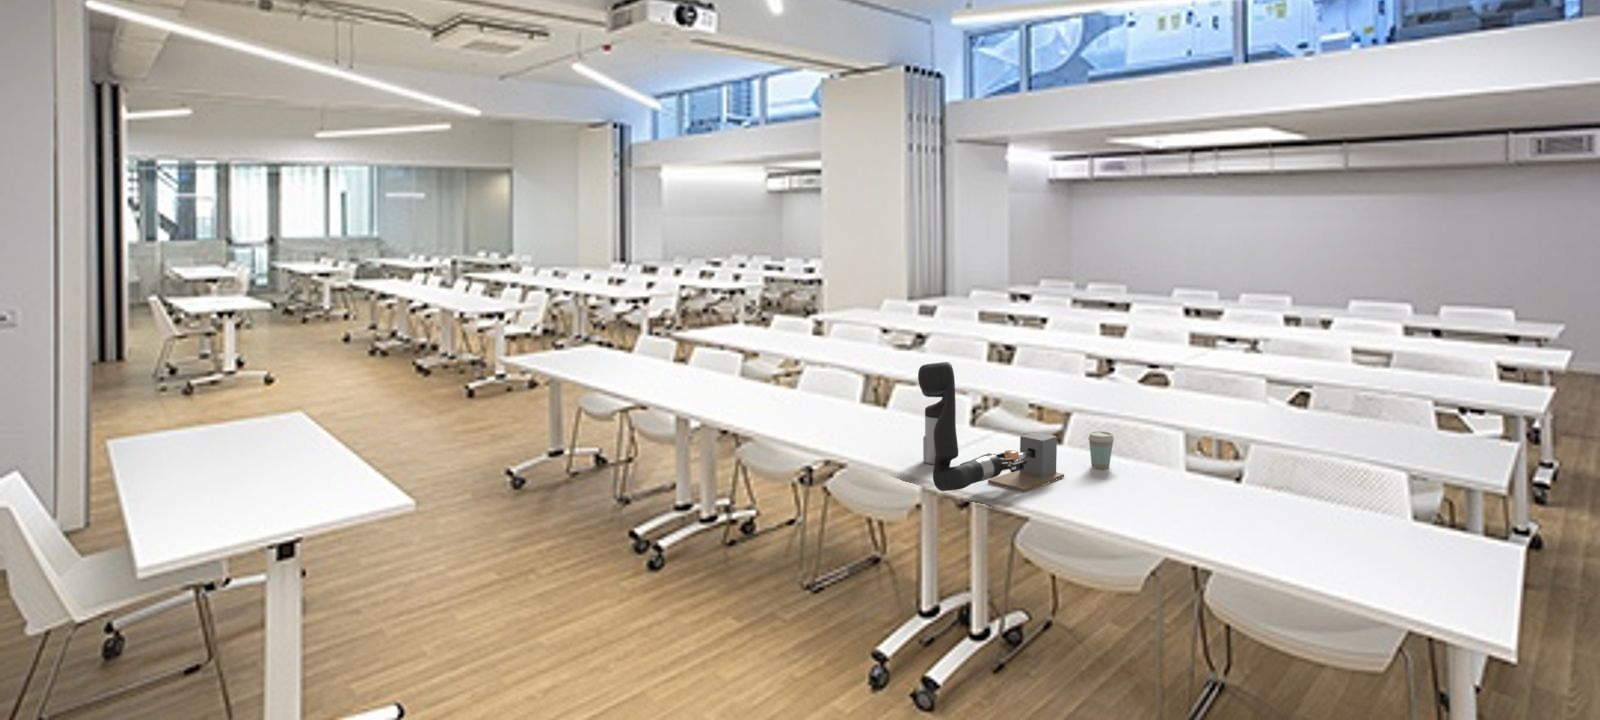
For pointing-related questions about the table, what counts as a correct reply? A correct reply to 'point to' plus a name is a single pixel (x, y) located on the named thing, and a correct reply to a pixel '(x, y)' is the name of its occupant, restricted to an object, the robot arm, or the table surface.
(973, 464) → the robot arm
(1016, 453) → the plunger
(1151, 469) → the table surface
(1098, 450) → the coffee cup
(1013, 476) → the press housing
